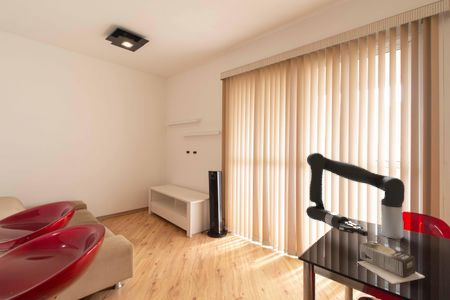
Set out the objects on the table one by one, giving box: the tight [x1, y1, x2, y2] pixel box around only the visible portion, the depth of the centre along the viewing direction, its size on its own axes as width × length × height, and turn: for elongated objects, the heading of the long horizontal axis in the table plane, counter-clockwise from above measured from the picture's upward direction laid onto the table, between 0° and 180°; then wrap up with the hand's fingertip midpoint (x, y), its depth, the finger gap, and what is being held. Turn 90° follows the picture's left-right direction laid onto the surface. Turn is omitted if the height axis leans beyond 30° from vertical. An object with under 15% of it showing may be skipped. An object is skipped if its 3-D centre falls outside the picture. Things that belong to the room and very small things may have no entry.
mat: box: [356, 260, 426, 285], centre depth 82 cm, size 16×14×1 cm
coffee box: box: [359, 240, 416, 278], centre depth 85 cm, size 9×6×16 cm
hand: (366, 234), depth 91 cm, fingers closed
